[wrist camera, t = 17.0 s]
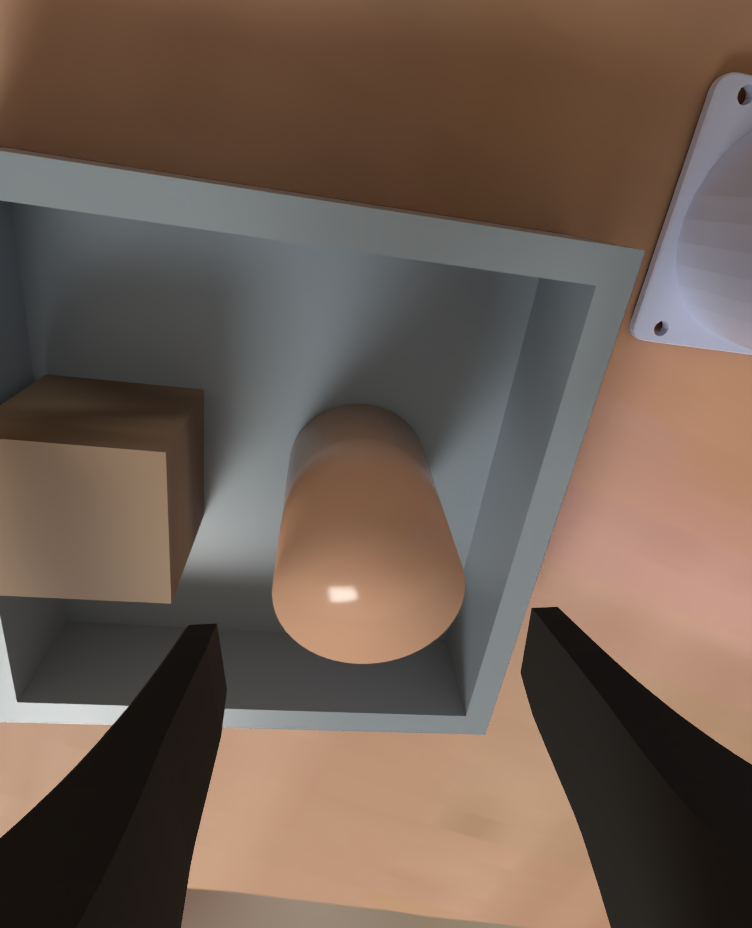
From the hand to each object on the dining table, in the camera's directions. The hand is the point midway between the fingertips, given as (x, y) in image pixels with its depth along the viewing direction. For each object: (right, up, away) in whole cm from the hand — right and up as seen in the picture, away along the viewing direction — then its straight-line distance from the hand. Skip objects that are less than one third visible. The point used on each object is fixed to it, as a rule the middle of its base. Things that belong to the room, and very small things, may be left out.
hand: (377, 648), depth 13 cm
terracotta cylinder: (-1, +4, +8) cm, 9 cm away
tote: (-4, +5, +8) cm, 10 cm away
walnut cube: (-9, +5, +7) cm, 12 cm away
